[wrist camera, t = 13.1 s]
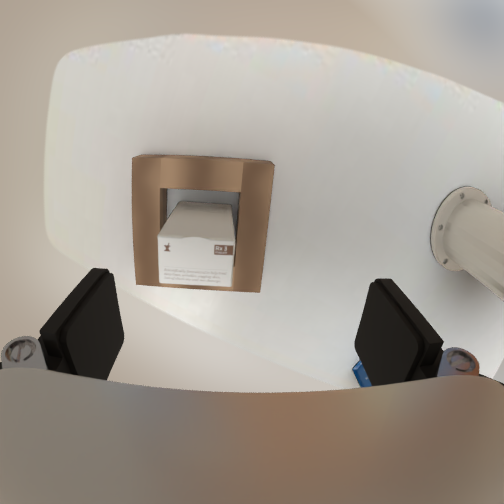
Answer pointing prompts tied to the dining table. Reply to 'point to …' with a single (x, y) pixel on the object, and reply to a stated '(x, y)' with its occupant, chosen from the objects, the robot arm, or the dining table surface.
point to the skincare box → (197, 245)
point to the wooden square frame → (201, 178)
